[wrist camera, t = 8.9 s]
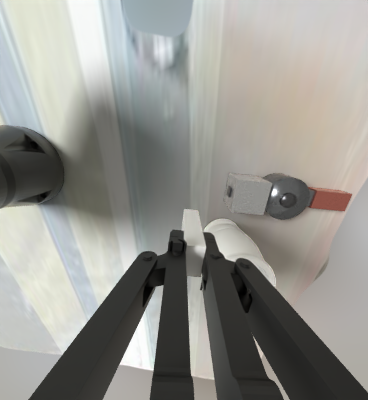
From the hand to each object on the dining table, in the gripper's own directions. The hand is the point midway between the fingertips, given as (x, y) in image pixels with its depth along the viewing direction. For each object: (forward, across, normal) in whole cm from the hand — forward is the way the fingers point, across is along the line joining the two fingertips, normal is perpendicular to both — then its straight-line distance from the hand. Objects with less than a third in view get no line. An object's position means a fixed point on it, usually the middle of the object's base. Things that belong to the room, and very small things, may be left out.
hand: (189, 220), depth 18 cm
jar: (+18, +9, -12) cm, 23 cm away
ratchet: (+17, +22, 0) cm, 28 cm away
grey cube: (+18, +12, 0) cm, 21 cm away
